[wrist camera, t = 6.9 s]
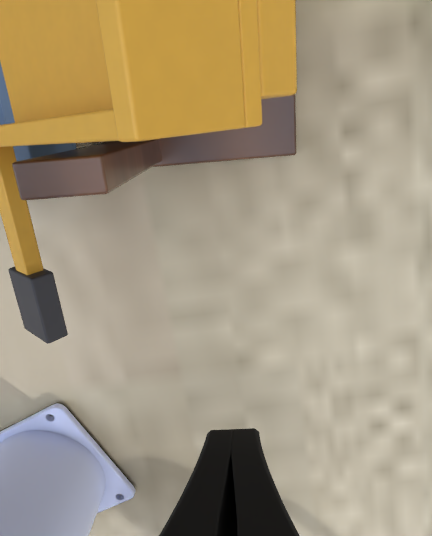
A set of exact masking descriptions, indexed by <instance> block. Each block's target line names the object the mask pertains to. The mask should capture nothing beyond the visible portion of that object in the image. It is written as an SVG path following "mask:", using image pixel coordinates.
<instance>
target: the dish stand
mask: <svg viewBox="0 0 432 536" xmlns="http://www.w3.org/2000/svg"><path fill="white" fill-rule="evenodd" d="M261 104H262V125H260V126H257V127H249V128H241V129H233V130H225V131H217V132H209V133H201V134H193V135H185V136H177V137H169V138H161V139H154V140H146V141H137V142H121V141H105V142H104V143H103V144H98V145H94V146H89V147H84V148H79V149H74V150H69V151H65V152H60V153H55V154H50V155H45V156H41V157H36V158H31V159H26V160H21V161H16V162H14V163H12V167H13V171H14V175H15V178H16V182H17V186H18V190H19V194H20V198H21V200H35V199H48V198H60V197H73V196H85V195H98V194H107V193H109V192H110V191H112V190H114V189H115V188H117V187H119V186H120V185H122V184H124V183H126V182H127V181H129V180H131V179H132V178H134V177H136V176H137V175H139V174H141V173H142V172H144V171H146V170H147V169H149V168H151V167H157V166H169V165H180V164H192V163H204V162H216V161H228V160H240V159H252V158H264V157H275V156H287V155H295V154H296V113H295V94H294V95H292V96H284V97H276V98H268V99H261Z"/></svg>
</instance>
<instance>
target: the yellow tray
mask: <svg viewBox="0 0 432 536" xmlns="http://www.w3.org/2000/svg"><path fill="white" fill-rule="evenodd" d="M0 62H1V66H2V70H3V75H4V79H5V83H6V87H7V91H8V95H9V99H10V103H11V108H12V112H13V116H14V120H15V123H10V124H4V125H0V213H1V217H2V220H3V224H4V228H5V231H6V235H7V239H8V242H9V246H10V250H11V253H12V257H13V261H14V264H15V267H12V268H10V269H9V274H10V277H11V281H12V284H13V288H14V291H15V295H16V299H17V302H18V306H19V309H20V313H21V316H22V320H23V324H24V327H25V329H26V330H28V331H29V332H31V333H32V334H34V335H35V336H37V337H38V338H40V339H41V340H43V341H44V342H46V343H51V342H53V341H56V340H58V339H60V338H62V337H65V336H67V330H66V325H65V321H64V317H63V313H62V309H61V305H60V301H59V296H58V292H57V288H56V284H55V280H54V276H53V273H52V272H51V271H48V270H46V269H43V265H42V261H41V257H40V253H39V249H38V245H37V241H36V237H35V233H34V229H33V225H32V221H31V217H30V213H29V209H28V205H27V201H26V200H21V198H20V194H19V190H18V186H17V182H16V178H15V175H14V171H13V167H12V163H14V162H16V157H15V153H14V149H13V146H28V145H47V144H66V143H86V142H105V141H121V142H137V141H146V140H154V139H161V138H169V137H177V136H185V135H193V134H201V133H209V132H217V131H225V130H233V129H241V128H249V127H257V126H260V125H262V104H261V99H268V98H276V97H284V96H292V95H294V94H295V93H296V91H297V70H296V11H295V0H0Z"/></svg>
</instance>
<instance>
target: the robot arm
mask: <svg viewBox="0 0 432 536" xmlns="http://www.w3.org/2000/svg"><path fill="white" fill-rule="evenodd" d="M49 414H51V415H53V416H54V417H52V416H50V415H49ZM121 494H122V495H121ZM134 494H135V488H134V486H133V485H132V484H131V483H130V482H129V480H128V479H127V478H126V477H125V476H124V475H123V473H122V472H121V471H120V470H119V469H118V468H117V466H116V465H115V464H114V463H113V462H112V461H111V459H110V458H109V457H108V456H107V455H106V454H105V452H104V451H103V450H102V449H101V448H100V447H99V445H98V444H97V443H96V442H95V441H94V439H93V438H92V437H91V436H90V435H89V434H88V432H87V431H86V430H85V429H84V428H83V427H82V425H81V424H80V423H79V422H78V421H77V420H76V418H75V417H74V416H73V415H72V414H71V413H70V411H69V410H68V409H67V408H66V407H65V406H64V405H62V404H58V403H56V404H53V405H51V406H49V407H47V408H45V409H43V410H41V411H40V412H38V413H36V414H34V415H32V416H30V417H28V418H26V419H24V420H22V421H20V422H18V423H16V424H14V425H12V426H10V427H8V428H6V429H4V430H2V431H0V536H89V533H90V531H91V528H92V525H93V522H94V519H95V517H96V514H97V513H99V512H101V511H103V510H106V509H108V508H111V507H113V506H115V505H118V504H120V503H122V502H125V501H127V500H130V499H132V498H133V497H134ZM159 536H299V534H298V532H297V530H296V528H295V526H294V524H293V522H292V520H291V518H290V516H289V514H288V512H287V510H286V508H285V506H284V504H283V502H282V500H281V498H280V495H279V493H278V491H277V488H276V486H275V484H274V481H273V479H272V476H271V474H270V471H269V469H268V466H267V463H266V460H265V457H264V454H263V450H262V446H261V442H260V437H259V431H257V430H256V429H231V430H211V431H210V432H209V433H208V434H207V437H206V440H205V443H204V446H203V449H202V451H201V454H200V456H199V459H198V461H197V464H196V466H195V468H194V471H193V473H192V475H191V477H190V479H189V481H188V483H187V485H186V487H185V489H184V492H183V494H182V496H181V498H180V499H179V501H178V503H177V505H176V507H175V509H174V510H173V512H172V514H171V516H170V518H169V520H168V521H167V523H166V525H165V527H164V528H163V530H162V532H161V533H160V535H159Z"/></svg>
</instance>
